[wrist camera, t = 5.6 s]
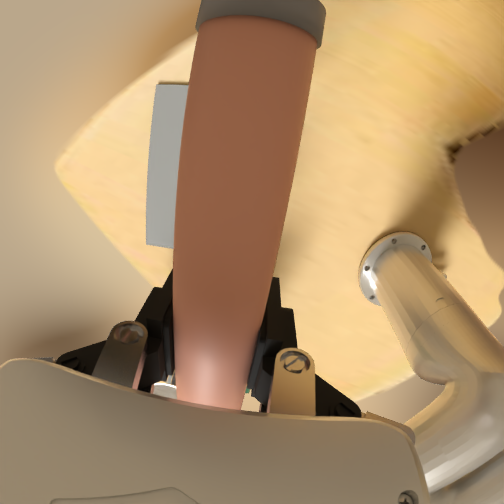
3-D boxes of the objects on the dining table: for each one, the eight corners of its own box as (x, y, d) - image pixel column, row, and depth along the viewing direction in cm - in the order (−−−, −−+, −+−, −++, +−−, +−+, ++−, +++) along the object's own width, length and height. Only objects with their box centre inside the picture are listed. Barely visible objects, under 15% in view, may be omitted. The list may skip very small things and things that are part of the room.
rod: (211, 18, 6) (191, -24, 4) (312, 32, 7) (340, -5, 4) (184, 428, 16) (177, 468, 13) (231, 435, 16) (228, 475, 13)
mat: (220, 87, 29) (219, 87, 29) (200, 251, 39) (200, 253, 39) (157, 84, 29) (156, 84, 29) (147, 243, 39) (146, 244, 39)
